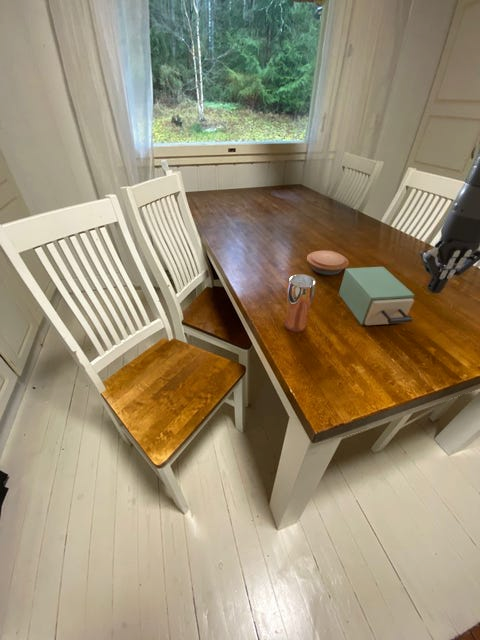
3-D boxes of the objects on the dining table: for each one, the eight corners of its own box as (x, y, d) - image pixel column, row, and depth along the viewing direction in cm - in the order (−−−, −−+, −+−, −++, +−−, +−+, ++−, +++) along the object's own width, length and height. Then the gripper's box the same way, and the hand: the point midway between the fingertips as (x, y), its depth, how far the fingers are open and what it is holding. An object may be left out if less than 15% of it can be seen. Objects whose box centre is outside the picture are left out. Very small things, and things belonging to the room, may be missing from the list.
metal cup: (279, 319, 81) (284, 275, 72) (300, 316, 82) (308, 272, 73) (288, 334, 76) (295, 289, 66) (311, 330, 77) (321, 285, 68)
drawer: (413, 333, 75) (426, 311, 70) (374, 336, 74) (384, 314, 69) (376, 293, 91) (384, 272, 86) (343, 295, 90) (350, 274, 85)
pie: (348, 280, 99) (351, 267, 96) (305, 275, 102) (307, 263, 98) (344, 261, 111) (347, 249, 108) (305, 257, 113) (307, 246, 110)
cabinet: (401, 322, 81) (414, 295, 75) (361, 325, 79) (371, 297, 73) (373, 291, 93) (383, 266, 87) (338, 293, 92) (345, 268, 86)
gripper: (457, 219, 47) (416, 302, 57) (526, 216, 48) (473, 298, 59) (428, 206, 52) (395, 284, 63) (490, 204, 54) (448, 281, 64)
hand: (433, 291), depth 61 cm, fingers closed
